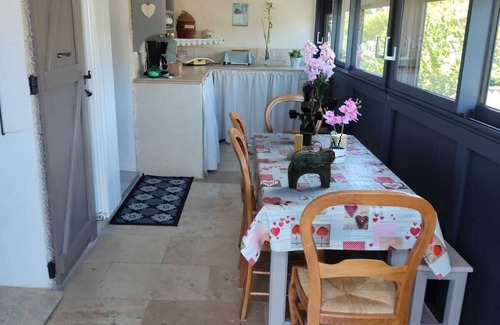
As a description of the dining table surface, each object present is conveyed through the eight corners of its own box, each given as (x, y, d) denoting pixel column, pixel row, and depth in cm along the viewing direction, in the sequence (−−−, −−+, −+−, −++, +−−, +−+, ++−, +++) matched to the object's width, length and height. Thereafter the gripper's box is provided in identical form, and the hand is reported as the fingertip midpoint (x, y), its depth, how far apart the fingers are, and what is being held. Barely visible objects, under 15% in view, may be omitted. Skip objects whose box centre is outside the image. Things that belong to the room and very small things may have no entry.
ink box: (338, 154, 246) (340, 133, 243) (346, 156, 242) (348, 134, 239) (328, 156, 241) (330, 134, 237) (335, 158, 237) (337, 136, 234)
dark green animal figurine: (330, 184, 195) (333, 139, 190) (335, 189, 189) (339, 143, 184) (285, 185, 192) (288, 139, 187) (289, 190, 186) (292, 143, 181)
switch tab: (294, 155, 233) (295, 134, 230) (301, 156, 232) (302, 134, 229) (293, 156, 231) (295, 135, 228) (300, 157, 230) (302, 135, 227)
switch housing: (291, 152, 245) (292, 146, 244) (310, 154, 243) (310, 148, 242) (286, 160, 230) (287, 154, 229) (306, 162, 228) (306, 156, 227)
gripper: (289, 94, 247) (285, 118, 240) (323, 96, 242) (320, 120, 235) (292, 106, 257) (287, 129, 250) (324, 108, 252) (321, 131, 245)
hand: (303, 127), depth 245 cm, fingers closed
